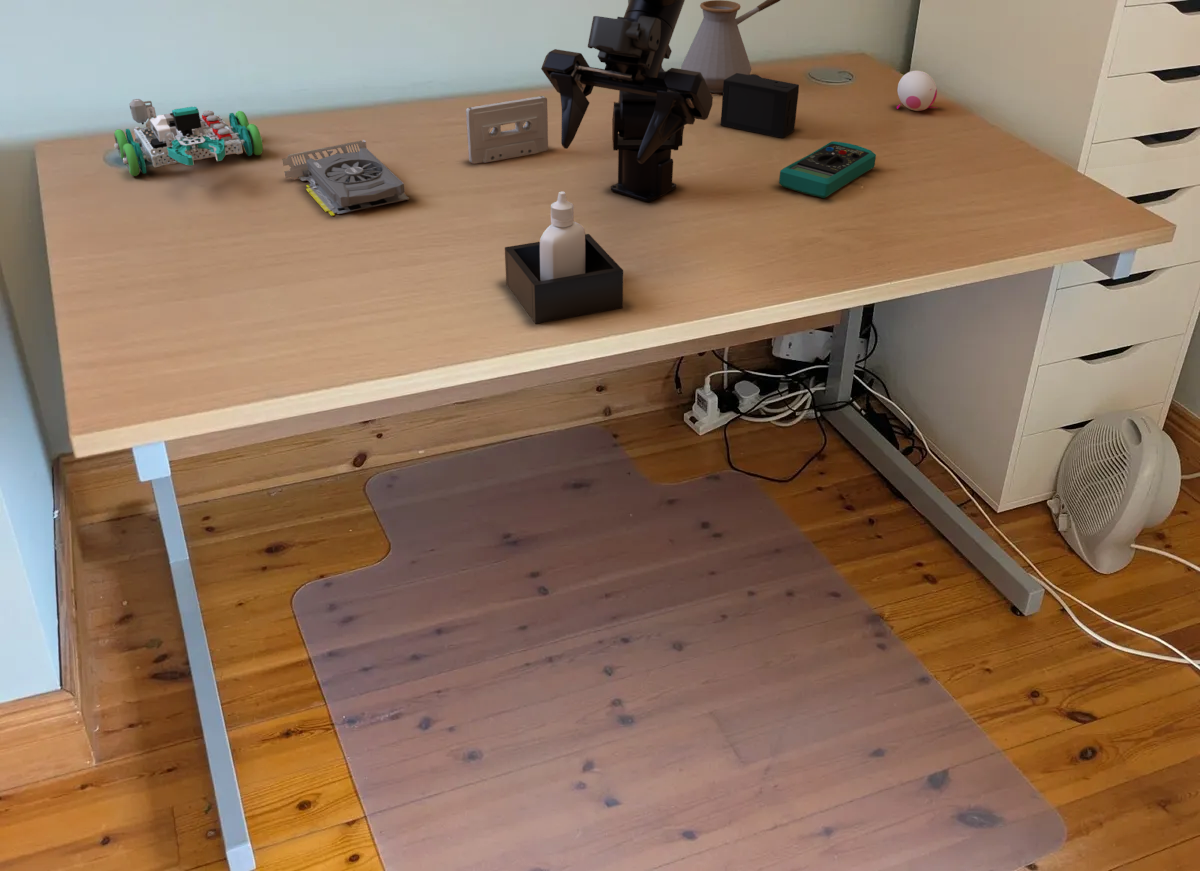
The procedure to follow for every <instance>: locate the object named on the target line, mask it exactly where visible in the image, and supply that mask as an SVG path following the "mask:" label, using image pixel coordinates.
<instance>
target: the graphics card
mask: <svg viewBox="0 0 1200 871" xmlns="http://www.w3.org/2000/svg"><path fill="white" fill-rule="evenodd" d="M367 147H368V146H367V141H366V140H365V139H362V140H357V141H352V142H346V143H341V144H335V145H331V146H326V147H321V148H317V149H311V150H305V151H301V152H296V153H290V154H288V155H287V157H285V158H282V159H281V161H282V165H283V167H285V166H289V167H290V168H289V170H284V172H283V173H284V178H285V179H290V178H291V179H292V180H300V181H301V182H306V181H307V182H308V183H309V184H306V185H305V186H306V187H307V188H306V189H305V190H306V191H307V192H308V194H309V195H310V196H311V197H312V198H313V200H314V201H315V202H316V203H317V204H318V206H319V207H320V208H321V209H322V210H323V211H324V212H325V213H328V214H329V215H330V217H336V214H337V215H341V214H345V213H351V212H354V211H355V212H356V211H360V210H364V209H365V210H366V209H370V208H374V207H379V206H383V205H388V204H393V203H398V202H402V201H406V200H407V201H408V200H410V198H409V196H408V195H407V194H406V193H405V192H406V191H405V190H406V189H405V183H404V182H403V181H402V180H401V179H400V178H399V177H398V176H396V174H394V172H392V171H391V170H390V168H388V167H387V166H386V165H385V164H384V163H383V162H382V161H381V160H380V159H379V158H378V157H376V155H374V153H372V151H370V150H369V148H367ZM339 149H341V150H342V152H343V153H341V152H340V151H339ZM334 150H336V152H335V154H333V153H334ZM324 152H326V154H327V155H328V156H325V154H324ZM316 153H319V155H320V156H321V158H318V156H317V154H316ZM309 155H312V157H313V158H312V157H310V156H309ZM298 159H299V160H298Z"/></svg>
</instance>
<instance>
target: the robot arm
mask: <svg viewBox="0 0 1200 871" xmlns="http://www.w3.org/2000/svg"><path fill="white" fill-rule="evenodd" d="M685 2H686V0H627V7H626V10H625V11H624V12H625V13H624V15H623V17H622V16H617V17H616V18H613V17H608V16H607V17H606V16H599V15H594V16H593V17H592V21H591V26H590V32H589V37H588V42H587V48H588V49H595V50H597V51H598V54H597V58H598V60H599V61H600V63H603V64H605V67H604V68H600V67H594V66H593V67H592V66H590V65H589V63H588V61H587V60H586V59H585V57H584V55H583V53H582V52H577V51H576V52H575V51H569V50H563V49H557V48H554V49H552V50H550V51H549V52H547V54H546V55H545V56H544V59H543V62H542V65H541V68H540V69H541V70H542V72H543V74H544V75H545V76H546V78H547V80H548V81H549V83H550V84H551V85H552V87H553V88H554V90H555V91H556V92H557V93H558V94H559V95H560V104H561V106H560V107H561V136H560V137H561V141H560V142H561V146H562V148H563V149H566V150H567V149H569V148H570V146H571V144H572V143H573V141H574V139H575V138H576V135H577V133H578V130H579V128H580V126H581V123H582V121H583V119H584V117H585V114H586V113H587V111H588V108H589V105H590V101H589V99H588V98H587V97H588V96H589V95H592V92H593V89H594V87H597V88H603V89H607V90H614V91H618V102H617V101H616V102H613V108H612V119H611V120H612V121H611V122H612V123H611V124H612V125H611V128H612V129H611V130H612V132H611V134H612V135H611V138H612V150H613V151H618V155H617V165H618V166H617V182H616V183H615V184H612V185H611V186H610V191H611V192H614V193H617V194H620V195H624V196H626V197H630V198H633V199H637V200H641V201H644V202H647V203H648V202H649V203H650V202H652V201H654V200H656V199H658V198H660V197H662V196H664V195H666V194H668V193H669V192H670V193H671V192H672V191H673V190H676V189H677V184H676V183H674V182H673V174H674V173H673V171H674V159H673V158H672V150H673V151H679V148H680V147H681V146H683V141H684V140H683V139H684V130H685V125H694V123H695V121H696V119H697V120H702V121H705V120H707V119H708V118H709V116H710V112H711V110H712V107H713V101H714V100H713V99H714V97H713V95H712V92H710V90H709V88H708V86H707V84H706V82H705V79H704V78H703V76H702V74H701V72H695V71H689V70H683V69H681V68H675V67H671V68H669V69H667V70H665V69H664V68H663V62H664V60H669V59H670V57H671V54H672V49H671V46H670V43H671V40H672V38H673V34H674V31H675V28H676V26H677V24H678V21H679V18H680V15H681V13H682V9H683V6H684V5H685Z"/></svg>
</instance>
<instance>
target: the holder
mask: <svg viewBox="0 0 1200 871" xmlns="http://www.w3.org/2000/svg"><path fill="white" fill-rule="evenodd" d="M504 263H505V264H504V265H505V266H504V267H505V284H506V286H507V287H508V288H509V290H510V291H511V292H512V294H513V295H514V296H515V298H516V299H517V300H518V302H519V303H520V305H521V306H522V307H523V308H524V310H525V311H526V313H527V314H528V315H529V317H530V318H531V319H532V321H533V322H534V324H535V325H537V324H541V323H547V322H553V321H558V320H563V319H570V318H575V317H580V316H585V315H590V314H597V313H601V312H607V311H613V310H619V309H623V307H624V306H623V305H624V303H623V302H624V269H623V268H622V267H621V266H620V265H619V264H618V263H617V262H616V261H615V260H614V259H613V257H611V255H609V253H607V251H606V250H605V249H604V248H603V247H602V246H601V245H600V244H599V243H598V242H597V240H595V238H594V237H593V236H592V235H590V234H589V233H585V274H579V275H573V276H567V277H561V278H556V279H550V280H544V281H540V241H535V242H530V243H523V244H517V245H511V246H505V247H504Z"/></svg>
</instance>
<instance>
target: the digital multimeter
mask: <svg viewBox="0 0 1200 871" xmlns="http://www.w3.org/2000/svg"><path fill="white" fill-rule="evenodd" d="M876 159H877V154H876V153H875V152H874V151H872V150H871V149H868V148H866V147H863V146H860V145H857V144H853V143H849V142H843V141H837V140H836V141H835V140H831V141H829V142H828V143H826V144H825V145H822V146H821V147H819V148H818V149H816V150H815V151H813V152H811V153H809V154H807V155H805V156H804V157H802V158H800V159H798V160H796V161H795V162H792V163H791V164H788V165H786V166H785V167H783V168H782V169H781V170H780V171H779V180H778V184H779V185H780V186H781V187H783V188H784V189H785V188H786V189H788V190H791V191H795V192H798V193H801V194H805V195H809V196H813V197H817V198H822V199H825V198H827V197H829V196H830V195H832V194H833V193H835V192H837V191H839V190H840V189H842V188H843V187H845V186H846V185H848V184H850V183H852V182H853V181H854V180H856V179H857V178H859V177H861V176H862V175H864V174H866V173H867V172H869V171H870V170H872V169H874V168H875V165H876Z"/></svg>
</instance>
